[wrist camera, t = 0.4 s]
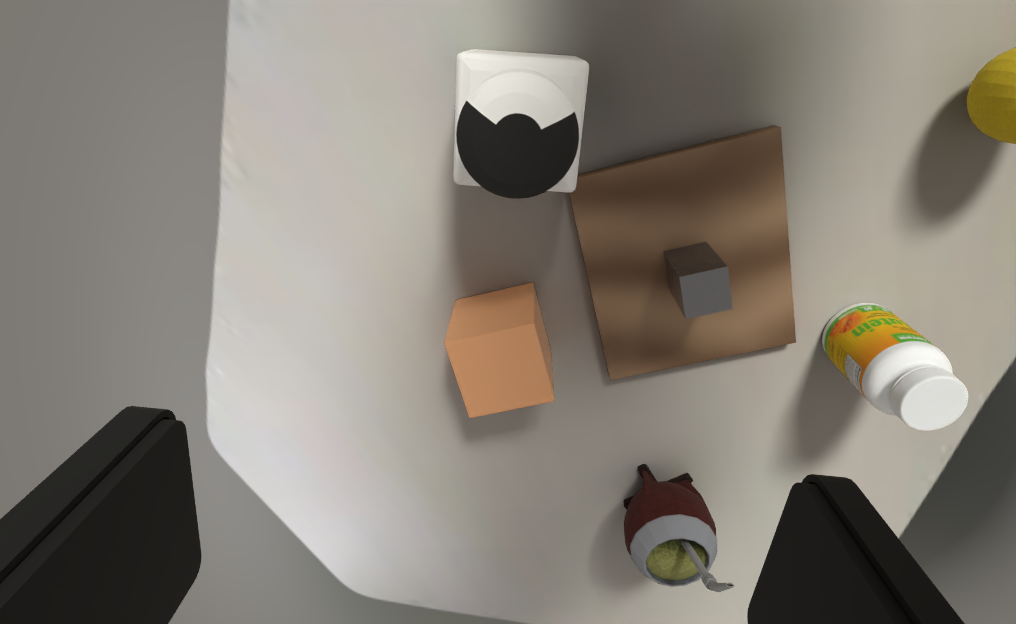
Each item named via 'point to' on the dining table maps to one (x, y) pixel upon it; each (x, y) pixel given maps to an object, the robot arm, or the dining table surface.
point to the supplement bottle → (894, 366)
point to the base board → (681, 222)
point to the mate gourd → (671, 532)
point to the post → (698, 280)
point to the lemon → (995, 98)
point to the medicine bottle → (518, 121)
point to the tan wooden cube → (500, 351)
